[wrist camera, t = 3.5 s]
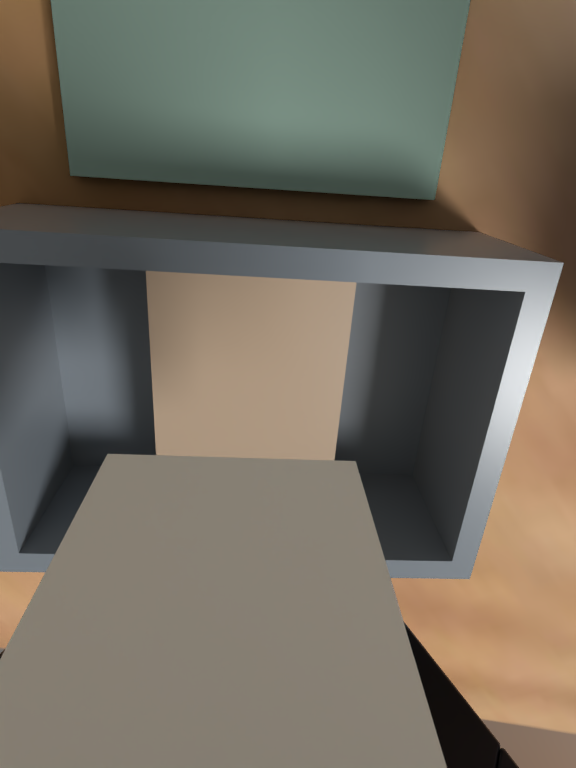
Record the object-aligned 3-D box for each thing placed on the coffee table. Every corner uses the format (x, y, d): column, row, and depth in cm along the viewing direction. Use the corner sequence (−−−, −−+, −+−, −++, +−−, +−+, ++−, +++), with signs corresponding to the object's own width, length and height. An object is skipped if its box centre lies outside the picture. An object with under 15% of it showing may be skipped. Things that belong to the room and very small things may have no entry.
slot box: (479, 232, 18) (563, 263, 13) (423, 483, 22) (469, 578, 17) (18, 203, 17) (-88, 224, 12) (60, 473, 21) (-3, 571, 16)
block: (356, 461, 9) (490, 914, 4) (328, 645, 11) (389, 1106, 6) (107, 453, 9) (-146, 936, 3) (128, 643, 11) (-8, 1131, 5)
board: (501, -208, 13) (509, -221, 12) (430, 198, 17) (434, 200, 17) (28, -267, 12) (19, -283, 12) (75, 175, 16) (70, 175, 16)
